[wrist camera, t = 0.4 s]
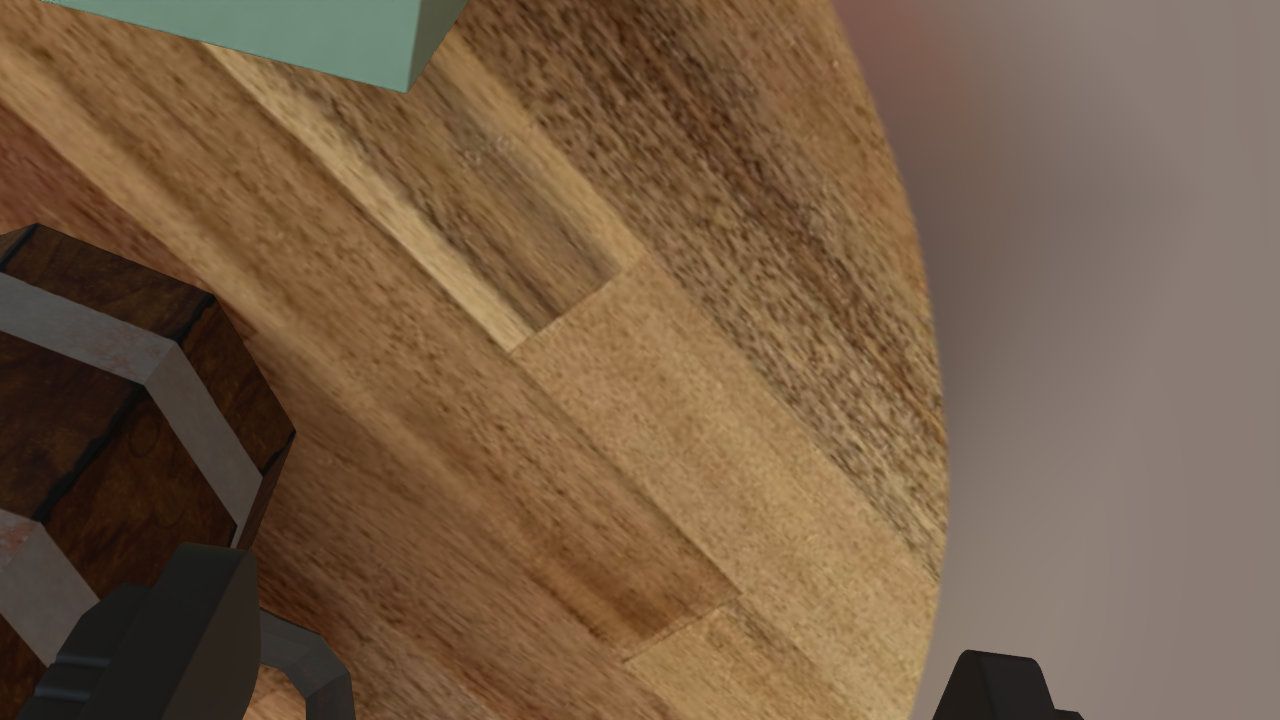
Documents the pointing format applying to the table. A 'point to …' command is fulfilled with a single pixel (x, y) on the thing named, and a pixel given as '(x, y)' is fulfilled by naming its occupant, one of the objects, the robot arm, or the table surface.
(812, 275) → the table surface
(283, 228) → the table surface
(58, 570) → the mug
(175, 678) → the robot arm
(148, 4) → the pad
